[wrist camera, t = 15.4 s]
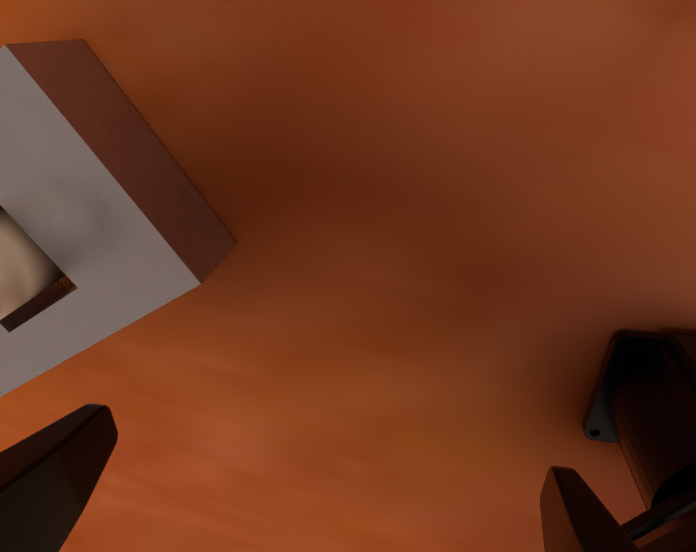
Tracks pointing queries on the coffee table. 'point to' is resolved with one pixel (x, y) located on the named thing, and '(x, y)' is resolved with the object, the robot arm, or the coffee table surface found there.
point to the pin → (22, 266)
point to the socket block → (91, 206)
